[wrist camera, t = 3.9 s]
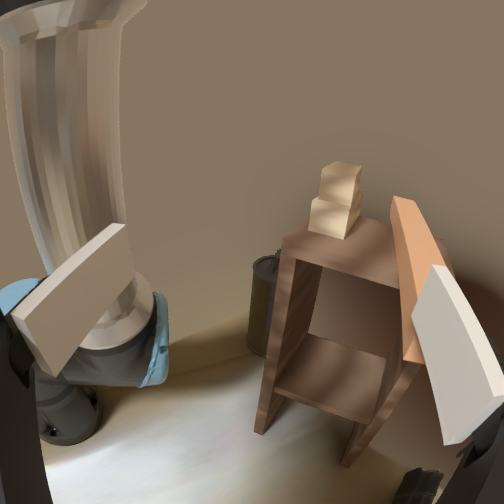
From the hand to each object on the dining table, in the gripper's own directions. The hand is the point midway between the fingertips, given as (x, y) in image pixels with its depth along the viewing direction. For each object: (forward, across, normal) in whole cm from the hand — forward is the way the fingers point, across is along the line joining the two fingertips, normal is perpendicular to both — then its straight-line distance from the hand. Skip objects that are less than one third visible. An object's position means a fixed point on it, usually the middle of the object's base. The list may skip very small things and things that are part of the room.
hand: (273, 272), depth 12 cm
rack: (+14, +9, -38) cm, 41 cm away
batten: (+13, +12, -5) cm, 19 cm away
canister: (+33, -1, -39) cm, 51 cm away
